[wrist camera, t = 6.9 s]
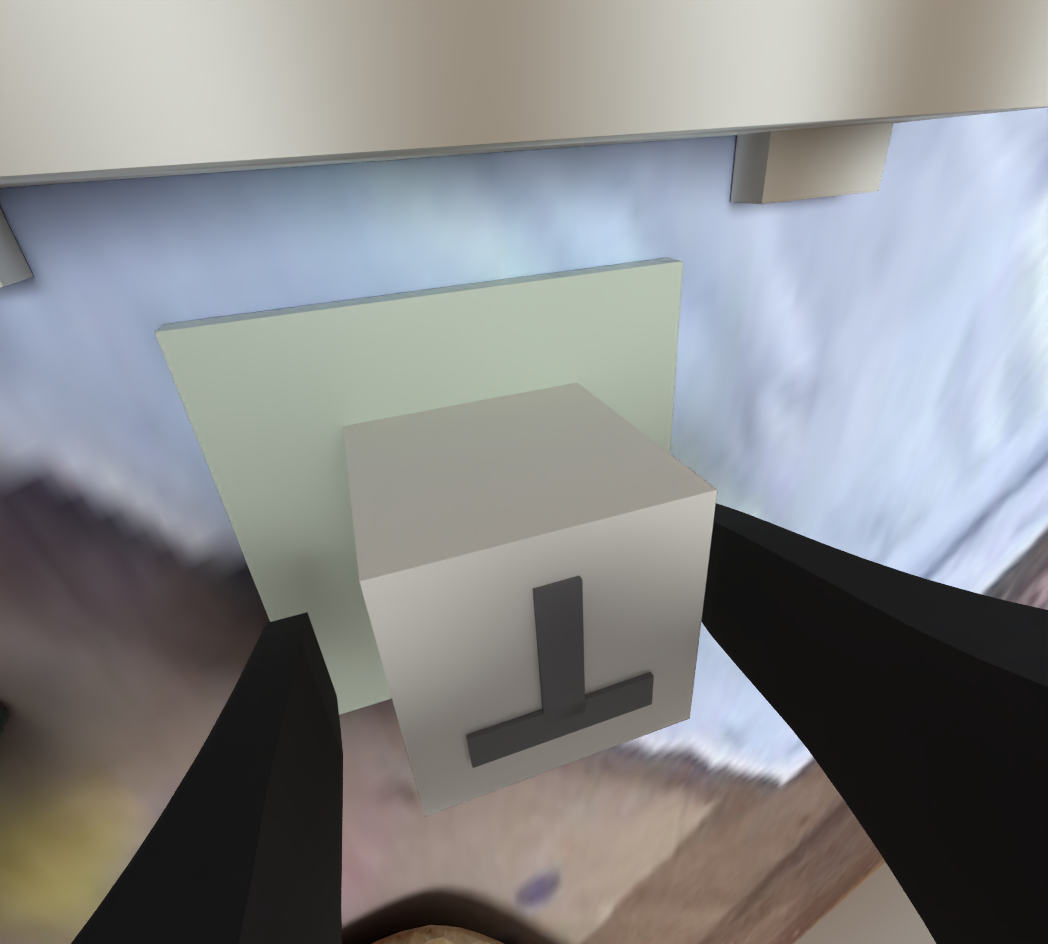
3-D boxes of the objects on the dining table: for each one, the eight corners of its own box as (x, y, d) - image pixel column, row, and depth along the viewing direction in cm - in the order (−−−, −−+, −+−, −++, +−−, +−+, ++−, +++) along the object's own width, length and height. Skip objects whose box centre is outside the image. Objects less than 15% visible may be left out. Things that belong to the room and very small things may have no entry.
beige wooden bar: (904, -39, 11) (1168, -138, 7) (858, 188, 13) (1051, 190, 9) (-534, -71, 6) (-1663, -409, 3) (-252, 307, 8) (-677, 399, 4)
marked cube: (577, 382, 12) (721, 493, 8) (580, 562, 14) (692, 723, 10) (342, 426, 11) (360, 587, 6) (390, 615, 13) (425, 822, 9)
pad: (667, 257, 12) (682, 260, 12) (648, 601, 17) (658, 614, 16) (163, 324, 10) (154, 332, 9) (311, 704, 14) (310, 723, 14)
